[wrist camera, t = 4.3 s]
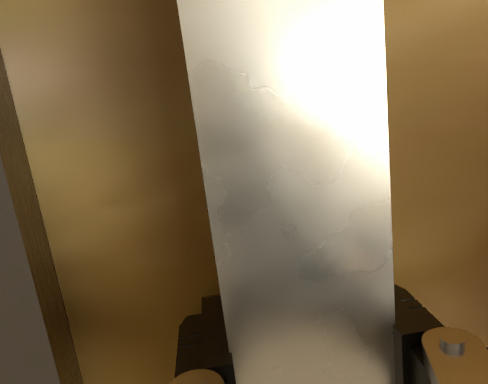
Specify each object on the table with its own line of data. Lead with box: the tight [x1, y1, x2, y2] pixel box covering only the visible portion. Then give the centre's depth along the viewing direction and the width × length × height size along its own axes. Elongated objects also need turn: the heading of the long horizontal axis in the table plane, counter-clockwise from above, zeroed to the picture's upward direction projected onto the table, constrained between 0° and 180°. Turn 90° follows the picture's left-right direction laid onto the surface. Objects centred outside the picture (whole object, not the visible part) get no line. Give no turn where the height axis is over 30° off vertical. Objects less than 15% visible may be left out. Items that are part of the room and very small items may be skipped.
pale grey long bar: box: [177, 0, 395, 384], centre depth 12 cm, size 4×30×4 cm, turn 7°
